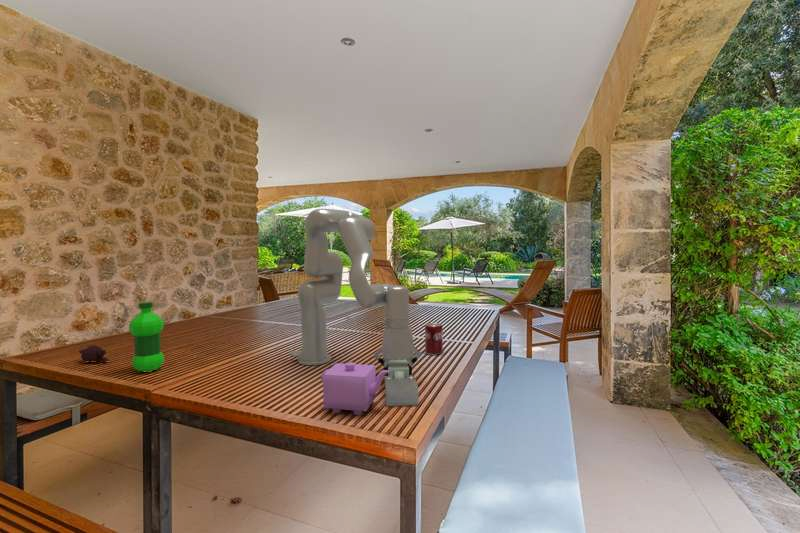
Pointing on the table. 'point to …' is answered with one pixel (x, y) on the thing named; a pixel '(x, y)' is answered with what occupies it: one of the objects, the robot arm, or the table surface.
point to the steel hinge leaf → (401, 391)
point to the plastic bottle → (147, 339)
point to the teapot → (350, 387)
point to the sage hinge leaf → (398, 369)
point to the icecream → (93, 354)
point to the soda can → (433, 338)
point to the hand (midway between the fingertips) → (397, 377)
